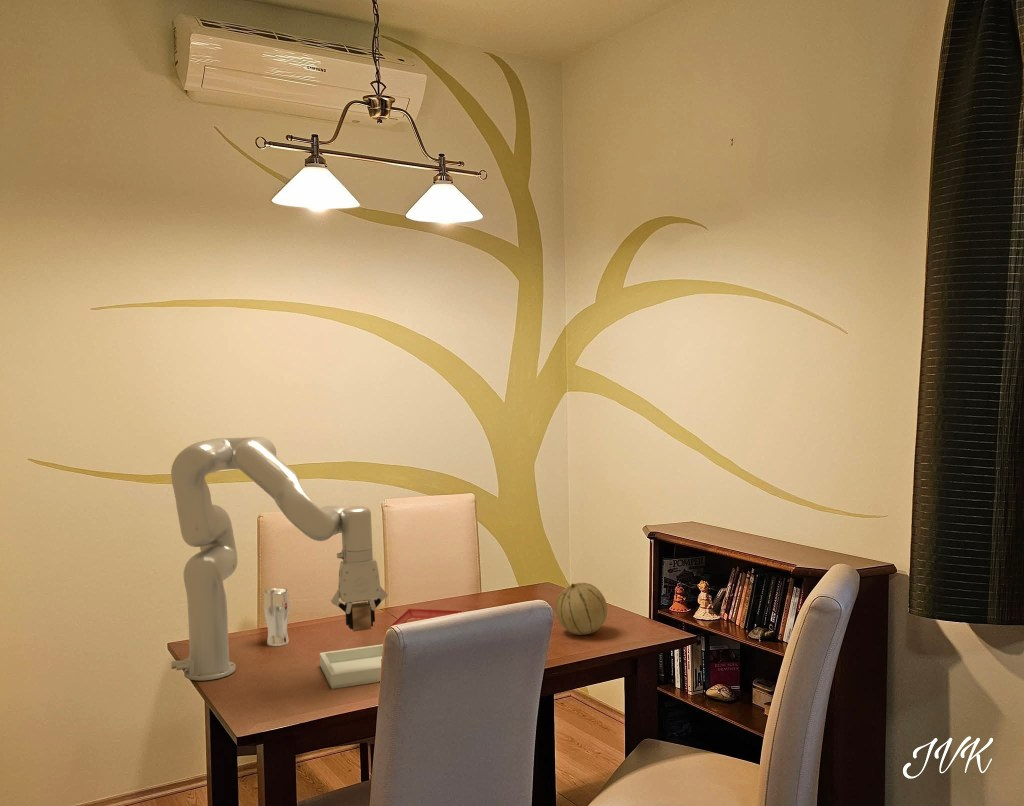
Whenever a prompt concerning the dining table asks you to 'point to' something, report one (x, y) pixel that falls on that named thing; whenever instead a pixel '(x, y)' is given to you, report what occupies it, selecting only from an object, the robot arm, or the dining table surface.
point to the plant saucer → (421, 614)
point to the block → (361, 616)
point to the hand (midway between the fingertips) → (360, 625)
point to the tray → (352, 666)
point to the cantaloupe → (581, 608)
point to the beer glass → (276, 615)
